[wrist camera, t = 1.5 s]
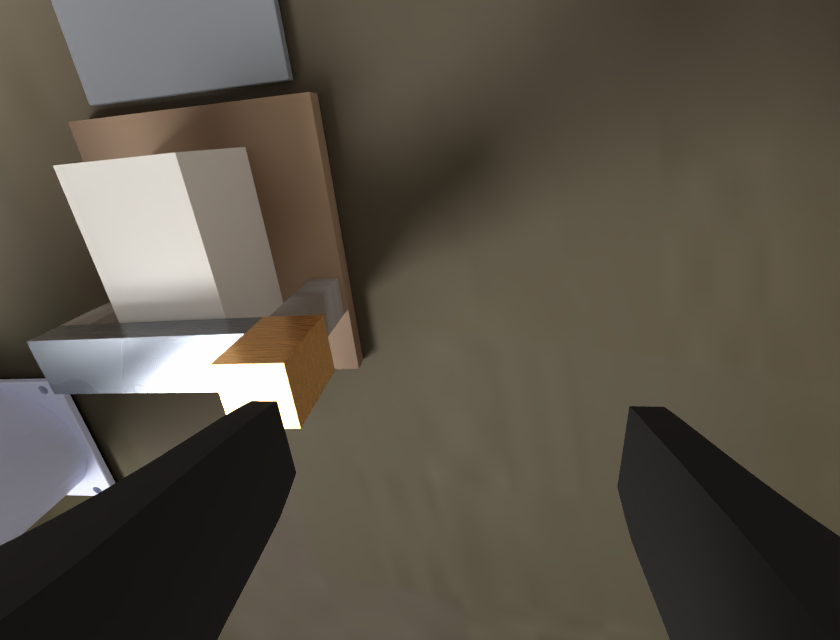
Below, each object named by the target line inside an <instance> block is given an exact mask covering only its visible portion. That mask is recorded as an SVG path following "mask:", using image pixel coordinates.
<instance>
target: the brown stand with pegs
mask: <svg viewBox="0 0 840 640" xmlns="http://www.w3.org/2000/svg"><path fill="white" fill-rule="evenodd" d="M68 124H69V126H70V129H71V131H72V134H73V136H74V139H75V142H76V144H77V147H78V149H79V152H80V154H81V157H82V159H83V162H91V161H100V160H110V159H119V158H128V157H137V156H147V155H156V154H165V153H175V152H187V151H200V150H212V149H225V148H238V147H245V148H246V152H247V156H248V160H249V164H250V168H251V172H252V176H253V180H254V185H255V189H256V193H257V197H258V201H259V205H260V209H261V213H262V217H263V221H264V225H265V230H266V234H267V238H268V242H269V246H270V250H271V254H272V258H273V262H274V266H275V271H276V275H277V279H278V283H279V287H280V291H281V295H282V299H283V304H282V305H281V306H280V307H279V308H278V309H277V310H276V311H274V312H273V313H272V314H271V315H270V316H269V317H274V316H298V315H321V314H324V319H325V324H326V329H327V334H328V339H329V344H330V349H331V354H332V358H333V363H334V368H335V369H359V367H360V365H361V363H362V361H363V356H362V350H361V345H360V339H359V333H358V327H357V321H356V316H355V310H354V304H353V298H352V292H351V286H350V281H349V275H348V269H347V263H346V257H345V252H344V246H343V240H342V234H341V228H340V222H339V217H338V211H337V205H336V199H335V193H334V187H333V182H332V176H331V170H330V164H329V158H328V153H327V147H326V141H325V135H324V129H323V123H322V118H321V112H320V106H319V100H318V94H317V93H313V92H304V93H296V94H288V95H280V96H272V97H264V98H256V99H248V100H240V101H232V102H224V103H216V104H208V105H200V106H192V107H184V108H176V109H168V110H160V111H152V112H144V113H136V114H128V115H120V116H112V117H104V118H96V119H88V120H80V121H72V122H68ZM108 323H119V321H118V319H117V316H116V314H115V312H114V309H113V307H112V304H111V302H109V303H107V304H104V305H102V306H100V307H98V308H96V309H94V310H92V311H90V312H87V313H85V314H83V315H81V316H79V317H77V318H75V319H73V320H71V321H68V322H66V323H64V324H62V325H84V324H108ZM60 326H61V325H60Z"/></svg>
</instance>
